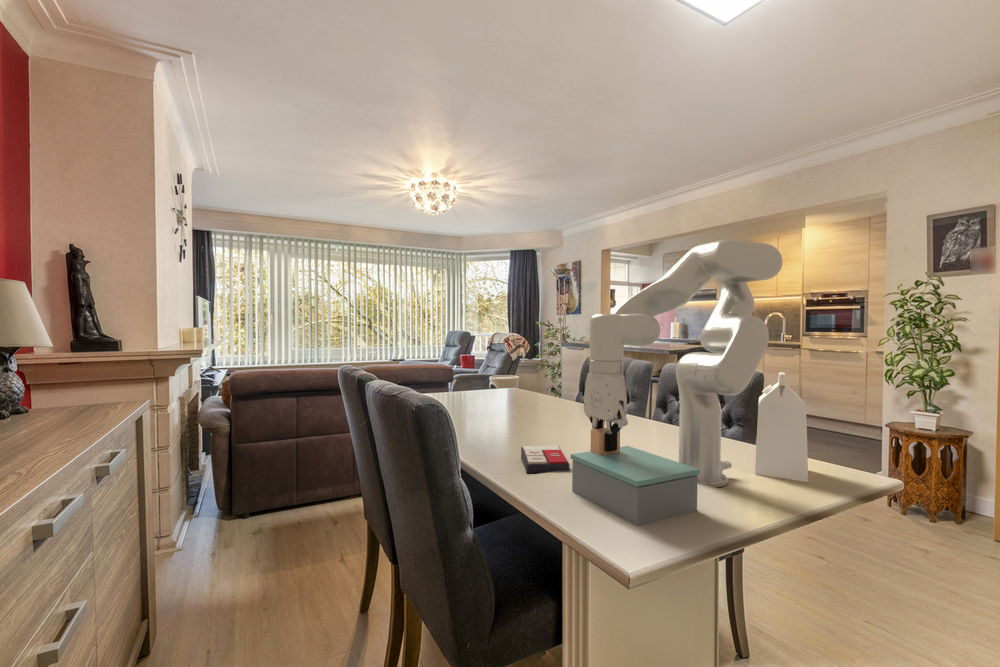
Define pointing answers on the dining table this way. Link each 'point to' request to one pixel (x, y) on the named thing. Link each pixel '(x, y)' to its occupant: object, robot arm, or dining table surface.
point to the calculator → (543, 459)
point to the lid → (631, 463)
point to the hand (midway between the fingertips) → (605, 448)
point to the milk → (781, 433)
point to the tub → (635, 495)
